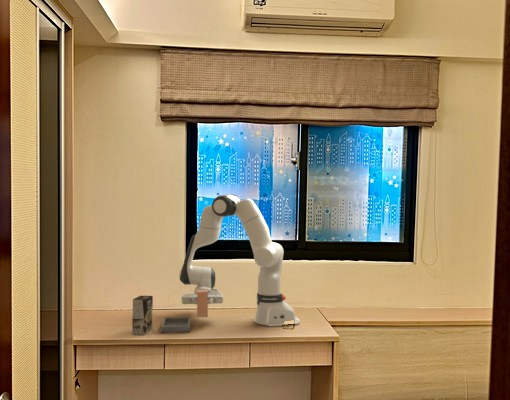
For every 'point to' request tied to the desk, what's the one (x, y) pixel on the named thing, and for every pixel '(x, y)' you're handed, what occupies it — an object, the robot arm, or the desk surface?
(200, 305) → the block
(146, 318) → the coffee box
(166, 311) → the desk surface
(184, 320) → the tray
